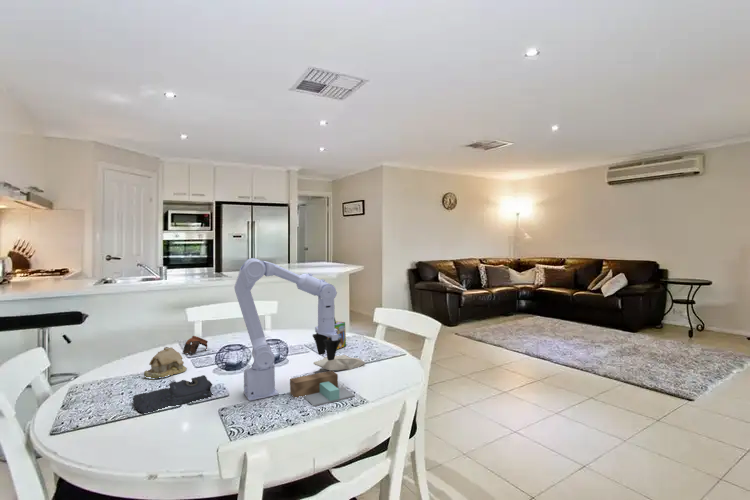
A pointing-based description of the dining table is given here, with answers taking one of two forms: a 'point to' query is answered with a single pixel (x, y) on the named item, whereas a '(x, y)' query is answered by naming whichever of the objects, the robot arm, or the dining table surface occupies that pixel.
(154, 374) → the ceramic model
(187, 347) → the brown curved piece
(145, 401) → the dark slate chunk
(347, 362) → the rock
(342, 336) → the chalk box
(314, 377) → the walnut bar
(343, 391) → the board
